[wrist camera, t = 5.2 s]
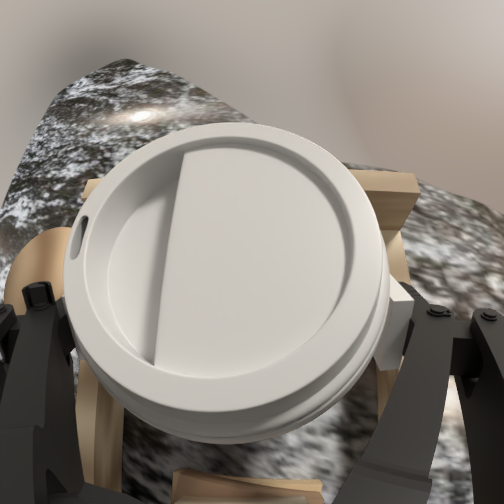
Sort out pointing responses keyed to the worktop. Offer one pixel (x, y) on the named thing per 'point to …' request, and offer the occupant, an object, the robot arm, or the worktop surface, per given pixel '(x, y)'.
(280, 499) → the offcut top
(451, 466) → the worktop surface
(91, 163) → the worktop surface
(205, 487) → the offcut mid
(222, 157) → the coffee cup
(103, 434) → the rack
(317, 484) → the offcut low
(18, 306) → the trivet
